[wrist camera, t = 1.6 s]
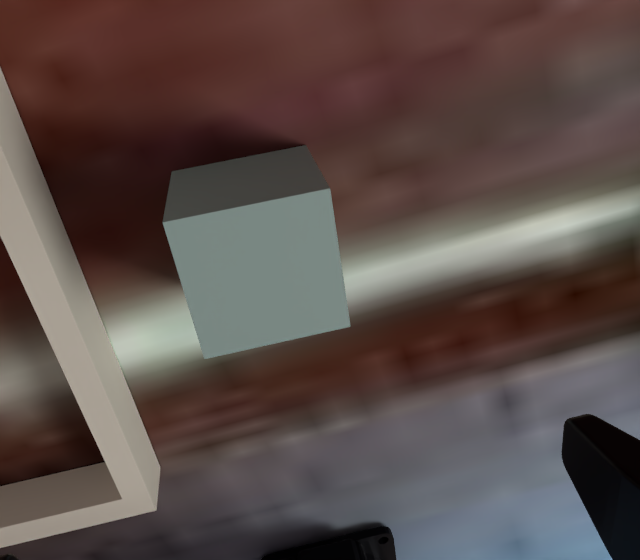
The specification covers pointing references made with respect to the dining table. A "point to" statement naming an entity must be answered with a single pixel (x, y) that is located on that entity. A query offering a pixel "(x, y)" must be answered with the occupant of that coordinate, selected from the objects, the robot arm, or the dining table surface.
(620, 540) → the robot arm
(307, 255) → the block teal
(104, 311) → the dining table surface
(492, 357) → the dining table surface
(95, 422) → the tray
